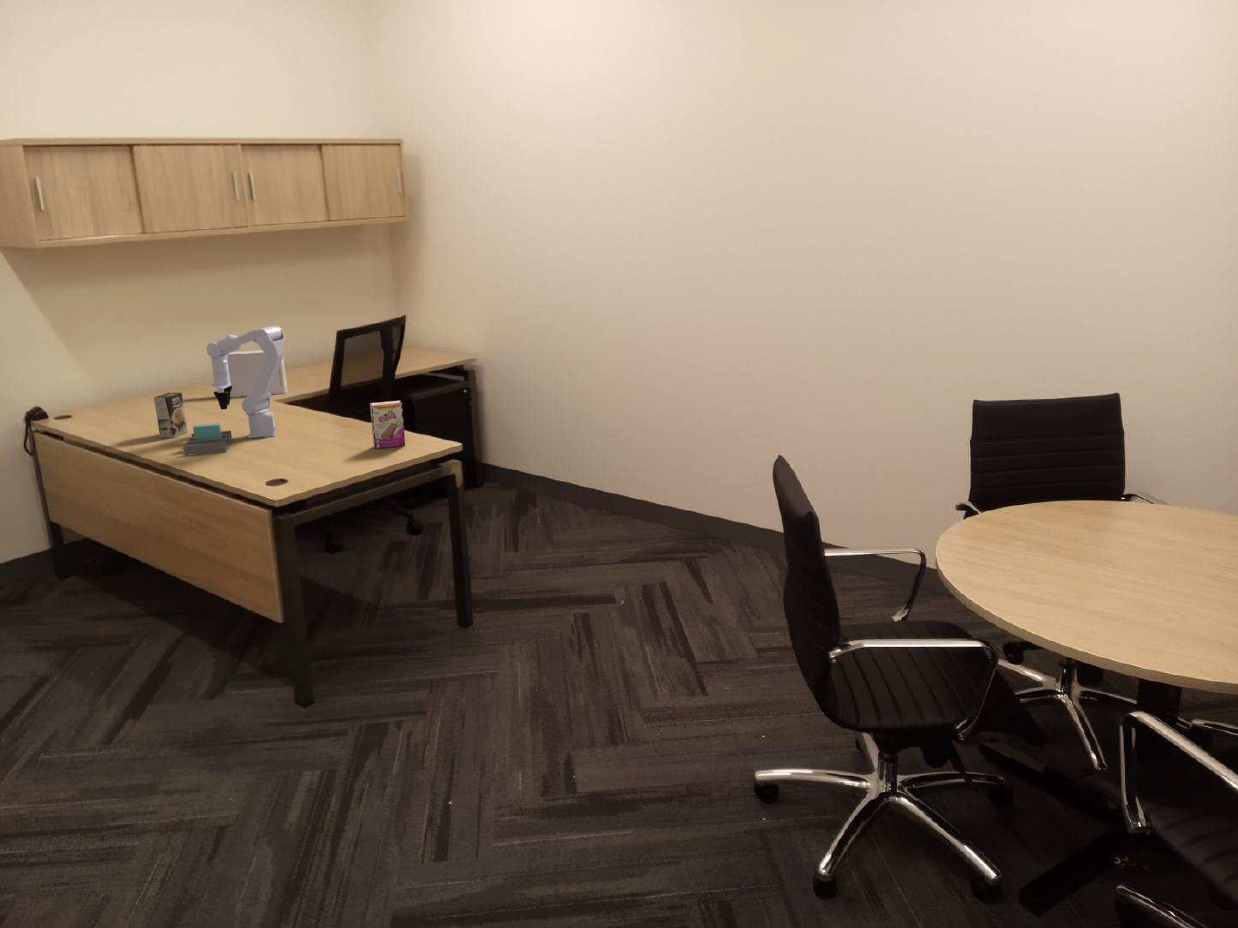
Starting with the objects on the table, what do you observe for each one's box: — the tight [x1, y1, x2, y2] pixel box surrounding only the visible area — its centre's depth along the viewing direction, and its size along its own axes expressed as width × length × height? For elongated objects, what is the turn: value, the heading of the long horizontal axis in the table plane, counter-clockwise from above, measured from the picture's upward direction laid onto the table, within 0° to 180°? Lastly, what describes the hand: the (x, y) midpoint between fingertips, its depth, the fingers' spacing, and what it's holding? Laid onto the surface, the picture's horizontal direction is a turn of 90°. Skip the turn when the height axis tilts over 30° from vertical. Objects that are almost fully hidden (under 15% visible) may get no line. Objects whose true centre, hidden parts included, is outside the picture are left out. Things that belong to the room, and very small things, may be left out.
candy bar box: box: [369, 400, 406, 450], centre depth 353 cm, size 11×5×16 cm, turn 110°
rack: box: [183, 430, 233, 456], centre depth 359 cm, size 14×19×4 cm
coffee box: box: [153, 392, 189, 439], centre depth 375 cm, size 9×6×16 cm
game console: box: [227, 349, 289, 398], centre depth 442 cm, size 6×27×20 cm, turn 106°
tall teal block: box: [192, 422, 223, 441], centre depth 358 cm, size 9×4×8 cm, turn 105°
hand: (225, 406), depth 376 cm, fingers open, 7 cm apart
